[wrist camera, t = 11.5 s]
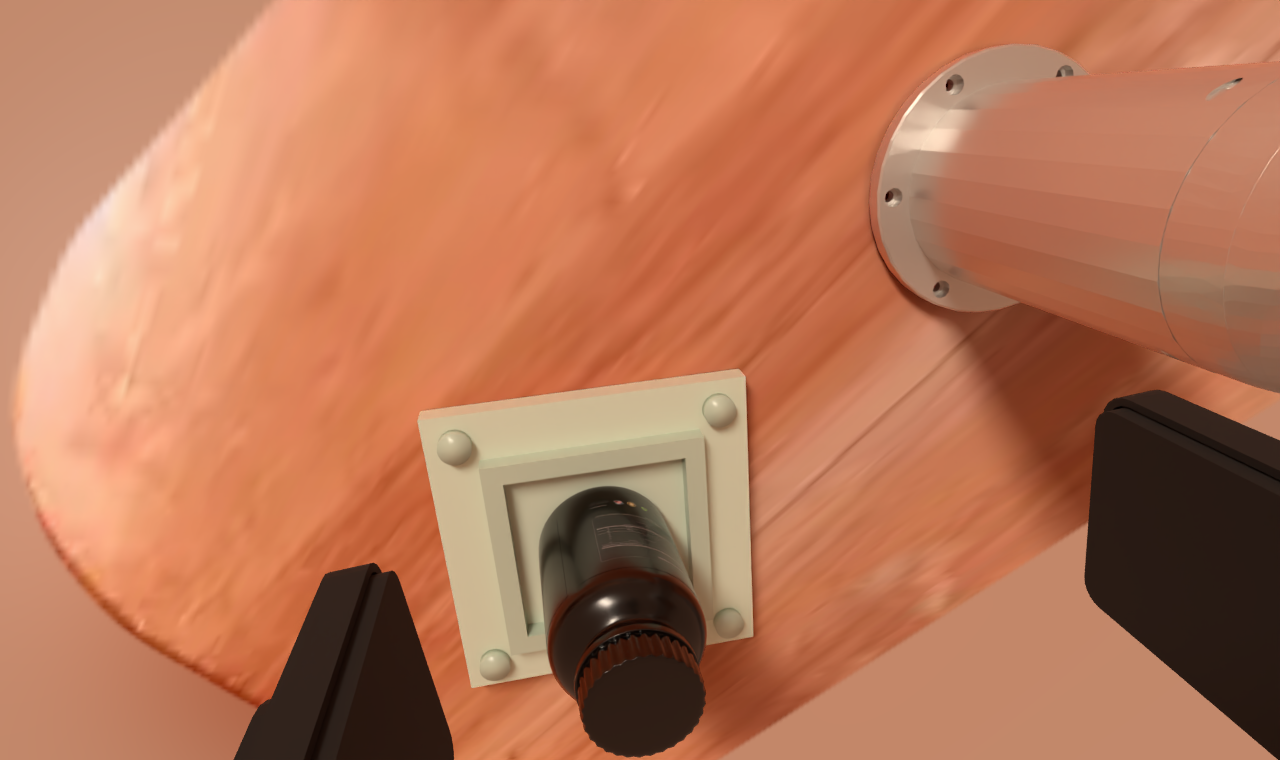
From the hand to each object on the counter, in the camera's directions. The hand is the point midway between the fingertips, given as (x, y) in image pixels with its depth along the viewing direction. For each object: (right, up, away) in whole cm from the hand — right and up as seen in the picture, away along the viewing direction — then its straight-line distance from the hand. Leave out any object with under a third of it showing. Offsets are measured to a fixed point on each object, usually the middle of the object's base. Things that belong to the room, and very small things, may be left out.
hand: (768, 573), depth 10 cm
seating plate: (-4, -5, +30) cm, 31 cm away
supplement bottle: (-4, -6, +29) cm, 30 cm away
